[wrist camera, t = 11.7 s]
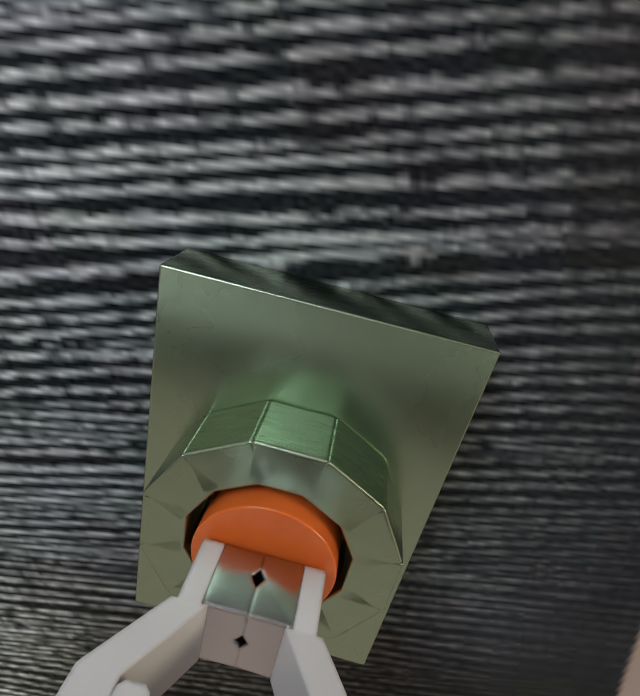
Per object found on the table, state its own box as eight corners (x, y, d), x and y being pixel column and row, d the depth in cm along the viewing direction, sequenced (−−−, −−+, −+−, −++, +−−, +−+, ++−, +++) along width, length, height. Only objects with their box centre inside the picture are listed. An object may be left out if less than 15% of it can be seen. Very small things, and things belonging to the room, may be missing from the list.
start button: (222, 443, 12) (197, 490, 11) (358, 480, 12) (353, 532, 11) (207, 540, 14) (183, 593, 12) (326, 574, 14) (318, 631, 12)
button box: (187, 247, 12) (118, 288, 9) (487, 324, 12) (521, 393, 9) (156, 560, 18) (105, 654, 15) (366, 618, 17) (361, 727, 14)
